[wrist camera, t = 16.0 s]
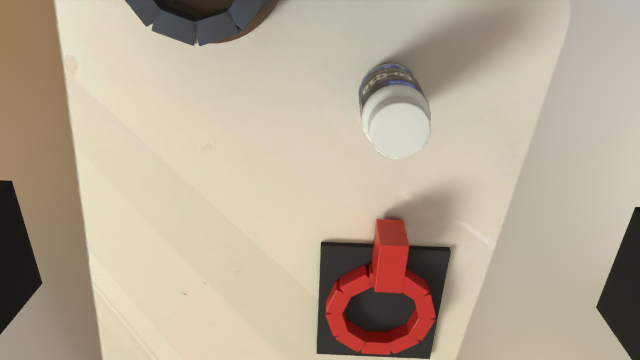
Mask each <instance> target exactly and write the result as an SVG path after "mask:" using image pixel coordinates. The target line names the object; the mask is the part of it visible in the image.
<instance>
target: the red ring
mask: <svg viewBox="0 0 640 360" xmlns="http://www.w3.org/2000/svg"><path fill="white" fill-rule="evenodd" d="M408 251H409V244H408V239H407V235H406V231H405V226H404V222H403V220H382V219H377V220H376V229H375V238H374V247H373V256H372V263H369V268H367V266H366V265H365V264H364V265H362V266H360V267H358V268H356V269H354V270H352V271H350V272H348V273H346V274H344V275H342V276H340V277H339V280H340V281H339V280H336V282H335V284H334V286H333V288H332V290H331V292H330V294H329V296H328V298H327V300H326V318H327V320H328V323H329V326H330V329H331V331H332V334H333V336H336V340H338V341H340V342H341V343H343V344H345V345H346V346H348V347H350V348H351V349H353V350H355V351H356V352H359V351H360V350H361V353H364V354H385V355H390V351H392V352H393V354H395V353H397V352H400V351H402V350H404V349H407V348H409V347H411V346H413V345H416V344H418V343H419V341H418V340H421V341H422V340H423V338H424V337H425V335H426V334H427V332H428V331H429V329H430V328H431V326H432V325H433V323H434V321H435V319H434V318H435V317H436V316H435V311H434V307H433V302H432V298H431V294H430V290H429V286H428V284H426V281H425V280H423V279H422V278H421V277H419V276H418V275H416V274H415V273H413V272H412V271H410V270H409V269H408V268H406V264H407V258H408ZM371 287H374V289H375V292H388V293H402V292H403V293H404V294H406V295H407V296H409V297H410V298H412V299H413V300H414V301H415V305H416V309H415V310H414V312H413V314H412V315H411V317H410V319H409V320H408V322H407V323H406V324H403V325H401V326H399V327H397V328H395V329H392V330H390V331H388V332H378V331H364V330H363V329H361V328H360V327H358V326H356V325H355V324H353V323H352V322H350V321H348V320H347V317H346V314H345V311H344V310H345V308H346V306H347V304H348V302H349V300H350V298H351V297H352V296H355V295H357V294H359V293H361V292H363V291H365V290H367V289H369V288H371Z"/></svg>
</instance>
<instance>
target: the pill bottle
mask: <svg viewBox="0 0 640 360" xmlns="http://www.w3.org/2000/svg"><path fill="white" fill-rule="evenodd" d="M359 104H360V113H361V122H362V126H363V130H364V132H365V134H366V135H367V137H368V138H369V139H370V141H371V143H372V145H373V147H374V148H375V149H376V150H377V151H378V152H379V153H380V154H382V155H384V156H386V157H389V158H393V159H403V158H408V157H410V156H413V155H415V154H416V153H418V152H419V151H420V150H421V149H422V148H423V147H424V146H425V145H426V143H427V141H428V139H429V137H430V132H431V125H430V117H431V114H430V107H429V104H428V101H427V100H426V98H425V96H424V94H423V92H422V90H421V88H420V86H419V84H418V82H417V80H416V78H415V77H414V75H413V74H412V73H411V72H410V71H409V70H408V69H406V68H405V67H403V66H401V65H398V64H383V65H380V66H377V67H375V68H373V69H372V70H370V71H369V72H368V73H367V74H366V75H365V77H364V78H363V80H362V82H361V84H360V87H359Z"/></svg>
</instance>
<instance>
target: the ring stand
mask: <svg viewBox="0 0 640 360" xmlns="http://www.w3.org/2000/svg"><path fill="white" fill-rule="evenodd" d="M125 1H126V2H127V4H128V5H129V6H130V7H131V9H132V10H133V11H134V12H135V14H136V15H137V16H138V17H139V18H140V20H141V21H142V22H143V23H144V25H145V26H146V27H147V26H149V25H151V24H153V26H152V31H153V32H156V33H159V34H162V35H165V36H167V37H170V38H173V39H176V40H178V41H181V42H184V43H187V44H190V45H192V46H194V45H195V44H196V43H197V42H198V44H199V46H202V45H205V44H209V43H223V42H228V41H232V40H235V39H238V38H240V37H242V36H244V35H246V34H248V33H249V32H251V31H252V30H254V29H255V28H256V27H258V26H259V25H260V24H261V23H262V22H263V21H264V20H265V19H266V17H267V16H268V15H269V14H270V13H271V11H272V10H273V8H274V6H275V5H276V3H277V1H278V0H125Z"/></svg>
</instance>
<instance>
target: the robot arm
mask: <svg viewBox="0 0 640 360" xmlns="http://www.w3.org/2000/svg"><path fill="white" fill-rule="evenodd" d="M41 284H42V281H41V277H40V274H39V270H38V267H37V264H36V261H35V257H34V253H33V250H32V247H31V243H30V240H29V237H28V234H27V230H26V227H25V224H24V220H23V217H22V213H21V210H20V207H19V203H18V200H17V197H16V194H15V190H14V187H13V183H12V181H2V180H0V334H1V333H2V332H3V330H4V329H5V328H6V327H7V326H8V325H9V323H10V322H11V321H12V320H13V318H14V317H15V316H16V315H17V314H18V312H19V311H20V310H21V309H22V308H23V306H24V305H25V304H26V303H27V301H28V300H29V299H30V298H31V297H32V295H33V294H34V293H35V292H36V290H37V289H38V288H39V287H40V285H41ZM596 308H597V309H598V311H599V312H600V314H601V315H602V317H603V318H604V320H605V321H606V323H607V324H608V325H609V327H610V328H611V330H612V331H613V333H614V334H615V336H616V337H617V338H618V340H619V342H620V343H621V344H622V346H623V347H624V349H625V350H626V352H627V353H628V355H629V356H630V358H631V359H632V360H640V207H635V209H634V212H633V214H632V217H631V220H630V222H629V225H628V227H627V230H626V232H625V235H624V237H623V240H622V243H621V245H620V248H619V250H618V253H617V255H616V258H615V260H614V263H613V266H612V268H611V271H610V273H609V276H608V278H607V281H606V284H605V286H604V289H603V291H602V294H601V296H600V299H599V301H598V304H597V306H596Z"/></svg>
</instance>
